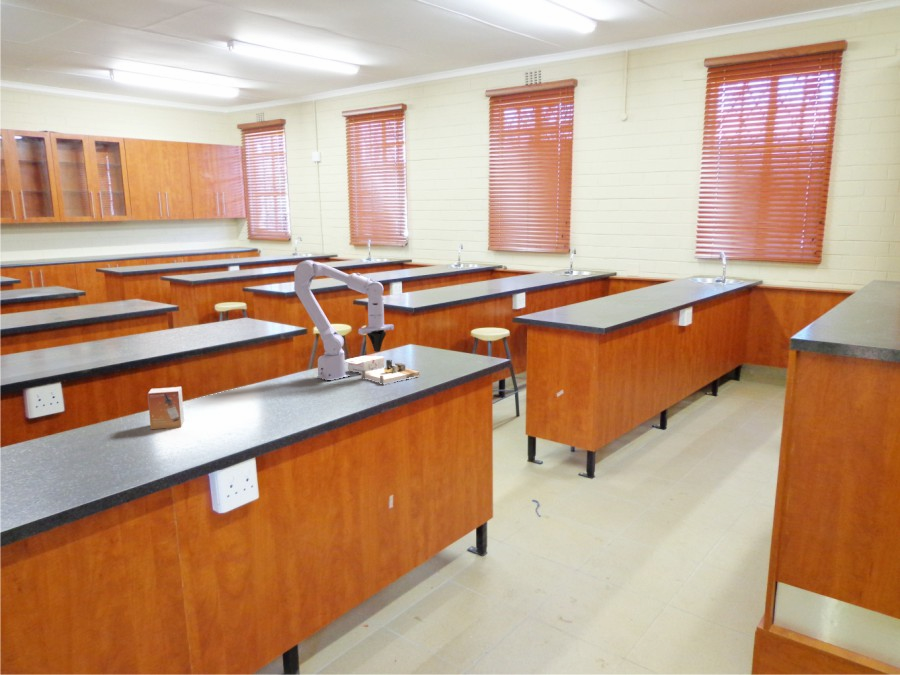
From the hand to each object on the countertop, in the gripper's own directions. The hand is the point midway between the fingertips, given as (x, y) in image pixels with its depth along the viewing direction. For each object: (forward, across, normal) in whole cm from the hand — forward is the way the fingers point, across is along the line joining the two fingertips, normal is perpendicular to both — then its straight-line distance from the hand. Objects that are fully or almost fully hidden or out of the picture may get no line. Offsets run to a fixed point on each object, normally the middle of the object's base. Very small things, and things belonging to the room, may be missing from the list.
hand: (377, 351), depth 222 cm
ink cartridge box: (+7, +8, +12) cm, 16 cm away
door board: (+9, -1, -5) cm, 11 cm away
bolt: (+7, +4, -5) cm, 10 cm away
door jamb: (+9, +7, -5) cm, 13 cm away
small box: (+10, -76, -4) cm, 77 cm away
